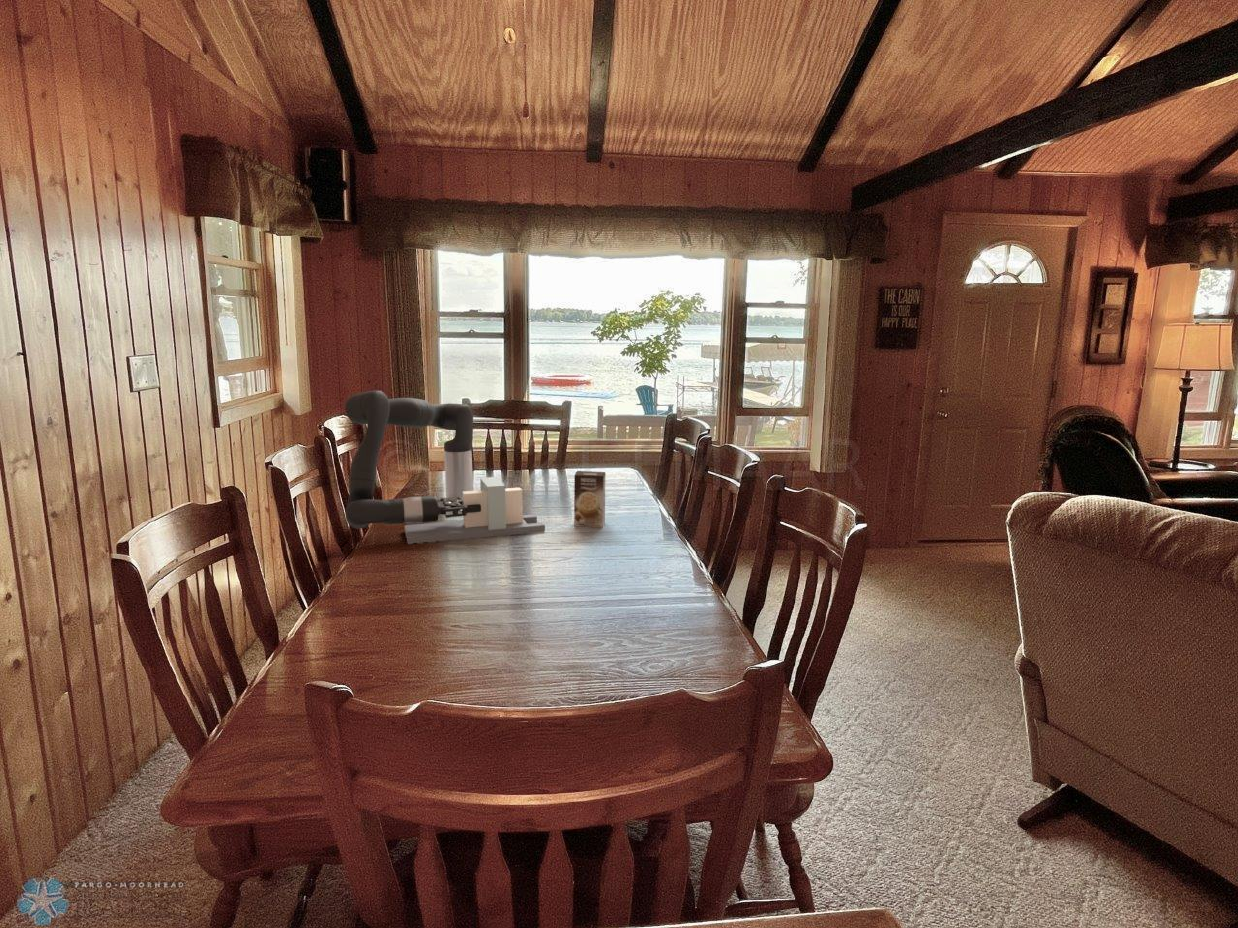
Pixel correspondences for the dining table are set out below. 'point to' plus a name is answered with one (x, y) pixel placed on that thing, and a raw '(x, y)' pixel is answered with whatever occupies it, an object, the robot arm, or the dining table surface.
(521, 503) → the block
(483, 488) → the tunnel
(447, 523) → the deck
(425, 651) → the dining table surface
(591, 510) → the coffee box
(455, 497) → the robot arm
